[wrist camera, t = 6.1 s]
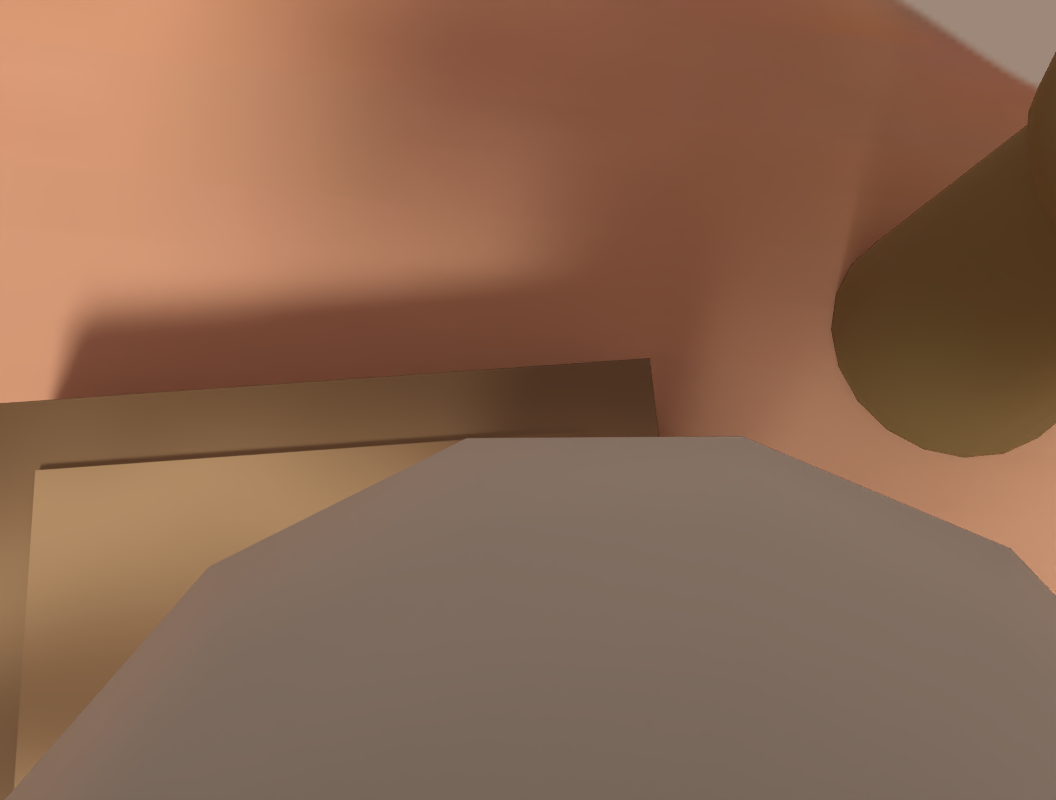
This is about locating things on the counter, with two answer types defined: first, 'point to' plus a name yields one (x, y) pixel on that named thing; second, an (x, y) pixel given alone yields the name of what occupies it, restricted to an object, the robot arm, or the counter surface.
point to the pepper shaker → (963, 304)
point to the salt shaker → (588, 644)
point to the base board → (220, 499)
